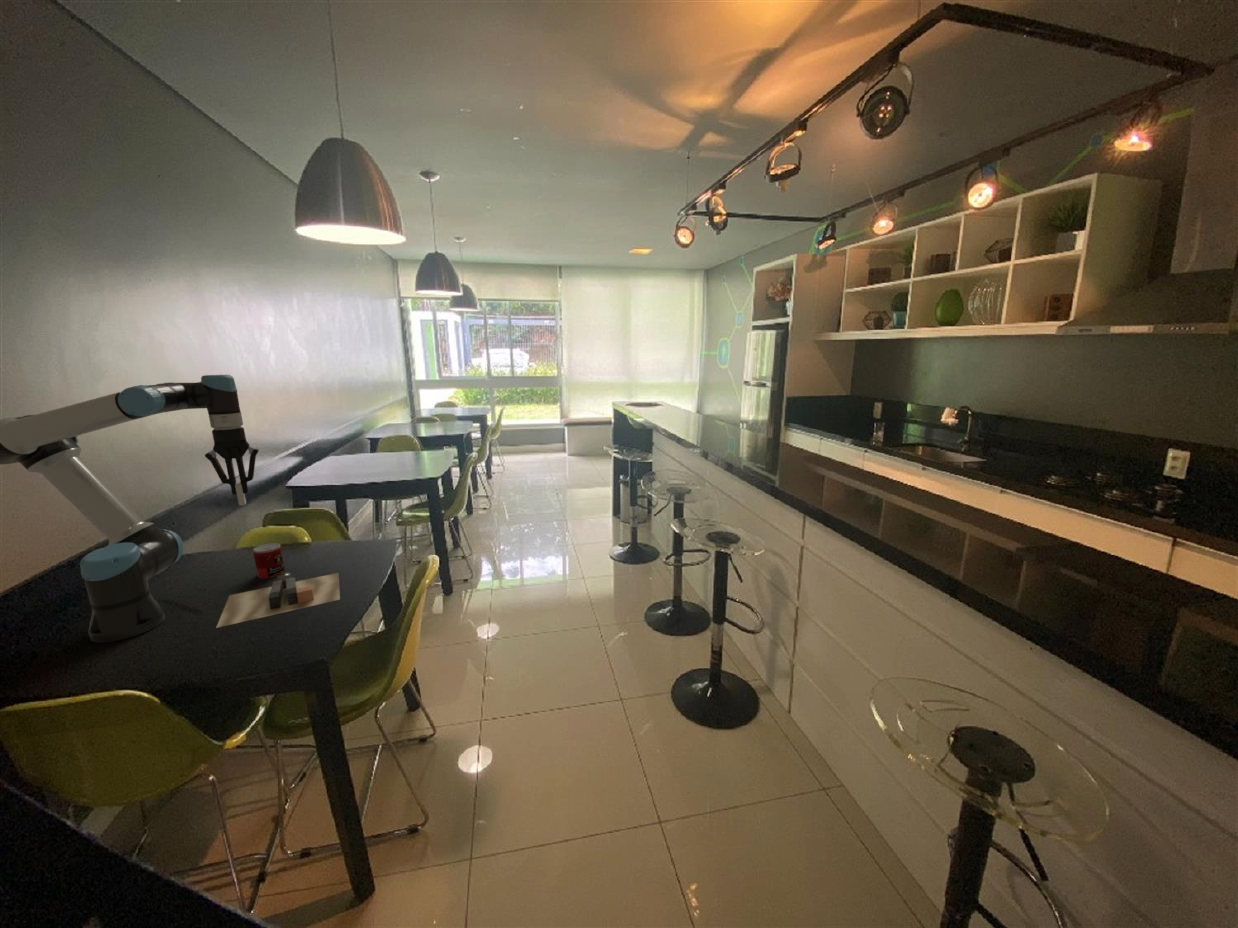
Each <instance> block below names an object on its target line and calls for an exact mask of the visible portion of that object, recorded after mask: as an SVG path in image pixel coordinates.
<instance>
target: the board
mask: <svg viewBox="0 0 1238 928" xmlns="http://www.w3.org/2000/svg"><path fill="white" fill-rule="evenodd" d="M339 575H340V574H339V572H336V573H331V574H327V575H321V576H317V577H312V578H307V579H301V580H297V581H296V586H297V589H299V588H303V587H308V586H313V592H314V600H311V601H307V602H302V603H297V604H293V605H289V604H288V599H287V591H286V589H287V588H284V592H283V598H282V604H281V607H280V608H276V609H270V603H269V595H270V592H271V588H272V586H268V587H263V588H258V589H255V590H254V589H253V590H248V591H244V592H240V593H239V592H238V593H234V594H229V595H228V598H227V600H226V603H225V606H224V608H223V609H222V613H221V615H220V617H219V620H218V622H217V625H216V627H215V629H217V628H218V629H219V628H222V627H226V626H230V625H231V626H232V625H236V624H239V623H244V622H248V621H253V620H257V619H261V618H266V617H270V616H274V615H278V614H283V613H287V612H288V613H289V612H292V611H296V610H301V609H305V608H309V607H310V608H311V607H314V606H318V605H321V604H322V605H323V604H327V603H331V602H335V601H340V600H341V596H340V595H341V593H340V576H339Z"/></svg>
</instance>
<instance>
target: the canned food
mask: <svg viewBox="0 0 1238 928" xmlns="http://www.w3.org/2000/svg"><path fill="white" fill-rule="evenodd" d="M281 547H282V546H281V544H280V543H278V542H277V543H276V542H272V543H271V542H269V543H264V544H261V545H258V546H255V547H254V548H253V549H252V553H253V557H254V558H253V559H254V563H255V568H256V574H257V578H258V579H265V580H266V579H271V578H276V577H277V576H278V575H279V574H281V573H285V572H286V570H285V569H286V568H285V563H284V557H283V553H282V552H283V551H282V548H281Z"/></svg>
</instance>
